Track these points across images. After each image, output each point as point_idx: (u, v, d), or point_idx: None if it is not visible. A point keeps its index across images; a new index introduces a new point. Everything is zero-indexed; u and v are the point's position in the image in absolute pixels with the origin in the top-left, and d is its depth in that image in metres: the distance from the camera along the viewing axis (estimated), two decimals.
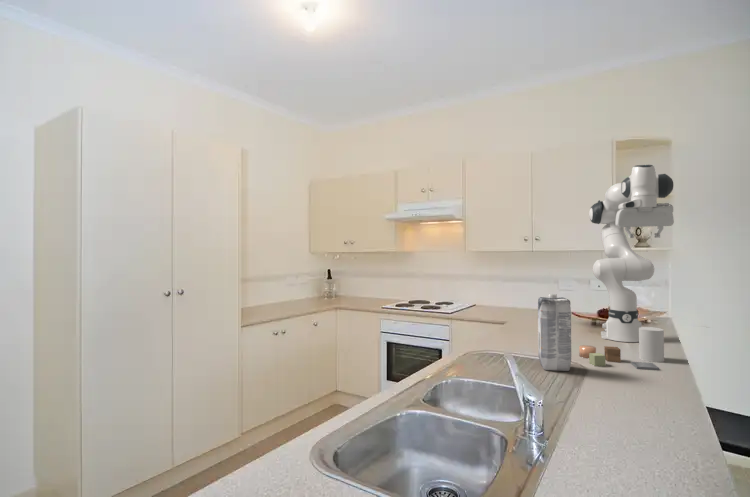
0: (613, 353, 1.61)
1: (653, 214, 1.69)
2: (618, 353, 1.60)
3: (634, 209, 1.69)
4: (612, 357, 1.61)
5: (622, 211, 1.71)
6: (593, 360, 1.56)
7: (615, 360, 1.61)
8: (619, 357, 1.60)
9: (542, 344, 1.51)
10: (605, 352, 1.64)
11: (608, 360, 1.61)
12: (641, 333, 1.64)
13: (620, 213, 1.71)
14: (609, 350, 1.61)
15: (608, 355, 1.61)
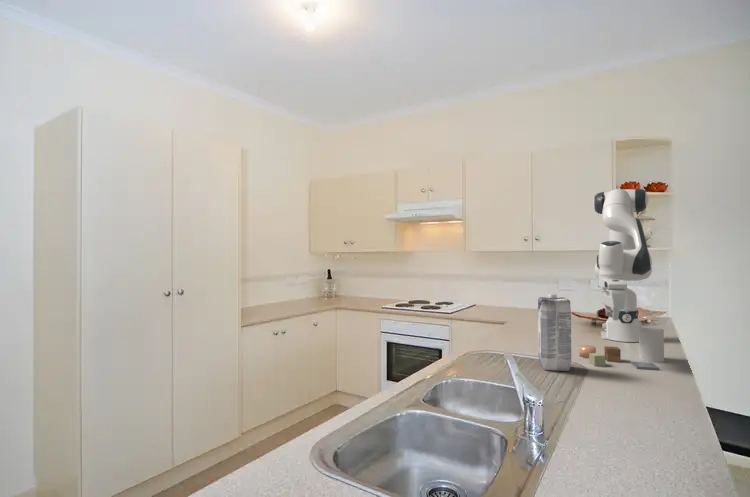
0: (613, 353, 1.61)
1: None
2: (618, 353, 1.60)
3: None
4: (612, 357, 1.61)
5: None
6: (593, 360, 1.56)
7: (615, 360, 1.61)
8: (619, 357, 1.60)
9: (542, 344, 1.51)
10: (605, 352, 1.64)
11: (608, 360, 1.61)
12: (641, 333, 1.64)
13: (625, 294, 1.54)
14: (609, 350, 1.61)
15: (608, 355, 1.61)
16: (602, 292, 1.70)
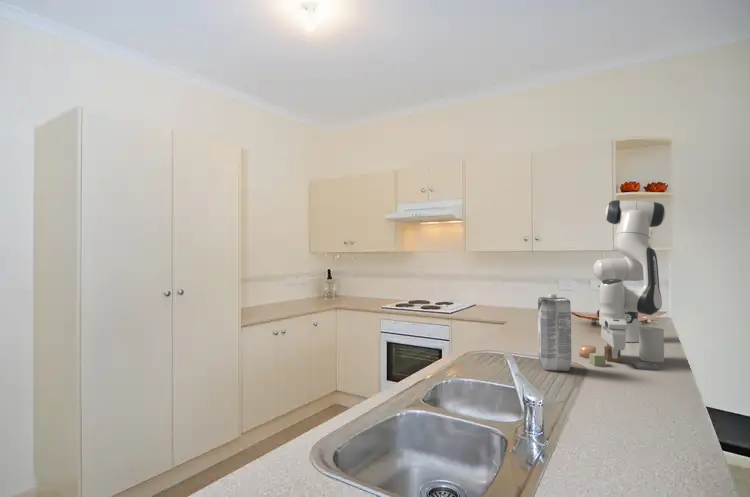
0: None
1: None
2: (618, 353, 1.60)
3: None
4: None
5: None
6: (593, 360, 1.56)
7: (615, 360, 1.61)
8: (619, 357, 1.60)
9: (542, 344, 1.51)
10: (605, 352, 1.64)
11: (608, 360, 1.61)
12: (641, 333, 1.64)
13: (625, 335, 1.54)
14: (609, 350, 1.61)
15: (608, 355, 1.61)
16: (602, 328, 1.70)
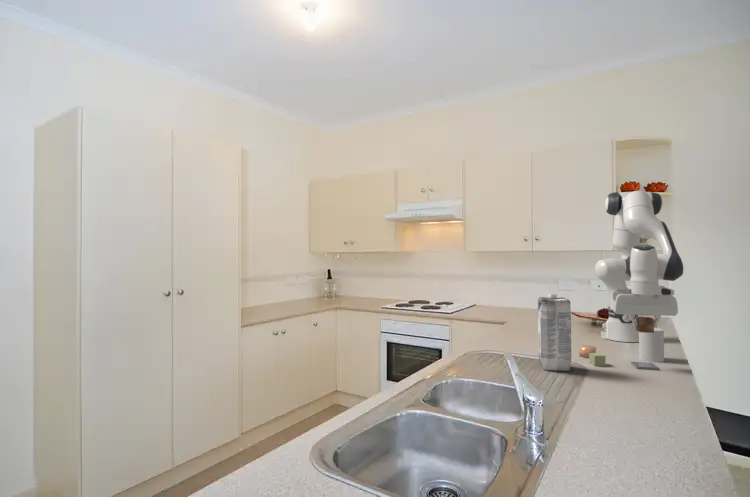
0: None
1: None
2: None
3: None
4: None
5: None
6: (593, 360, 1.56)
7: None
8: None
9: (542, 344, 1.51)
10: (644, 324, 1.52)
11: None
12: (641, 333, 1.64)
13: None
14: None
15: None
16: (623, 301, 1.54)
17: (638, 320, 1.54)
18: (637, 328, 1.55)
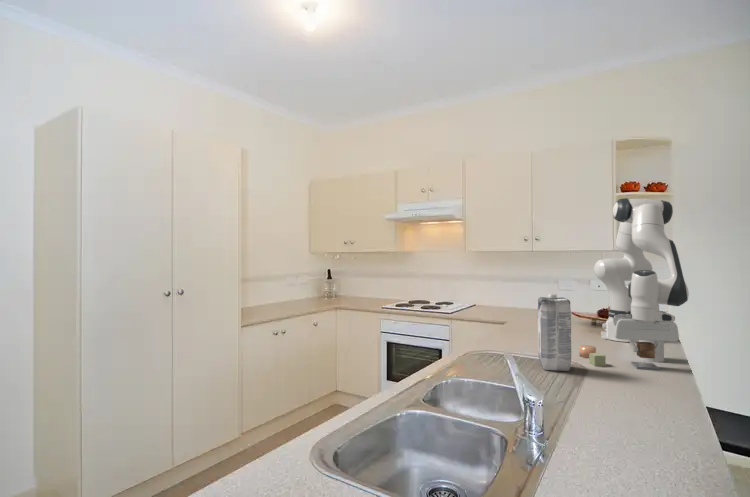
0: None
1: None
2: None
3: None
4: None
5: None
6: (593, 360, 1.56)
7: None
8: None
9: (542, 344, 1.51)
10: (645, 350, 1.52)
11: None
12: None
13: None
14: None
15: None
16: (624, 326, 1.54)
17: (639, 345, 1.53)
18: (638, 353, 1.55)
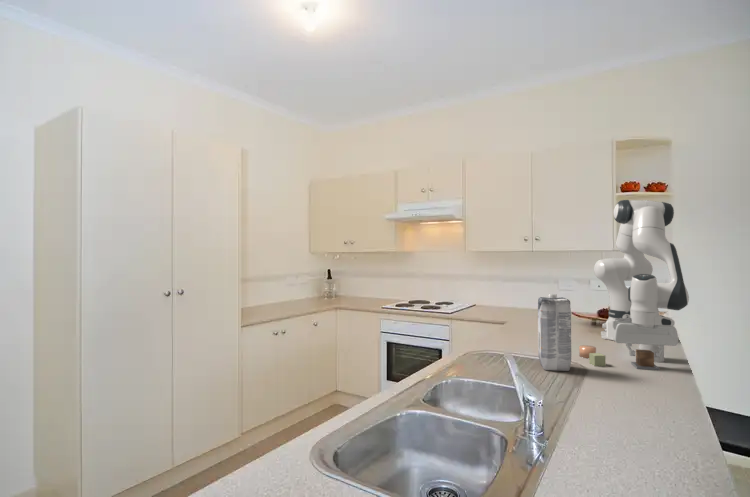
0: None
1: None
2: None
3: None
4: None
5: None
6: (593, 360, 1.56)
7: None
8: None
9: (542, 344, 1.51)
10: (644, 358, 1.52)
11: None
12: None
13: None
14: None
15: None
16: (624, 330, 1.54)
17: (638, 353, 1.54)
18: (637, 361, 1.55)
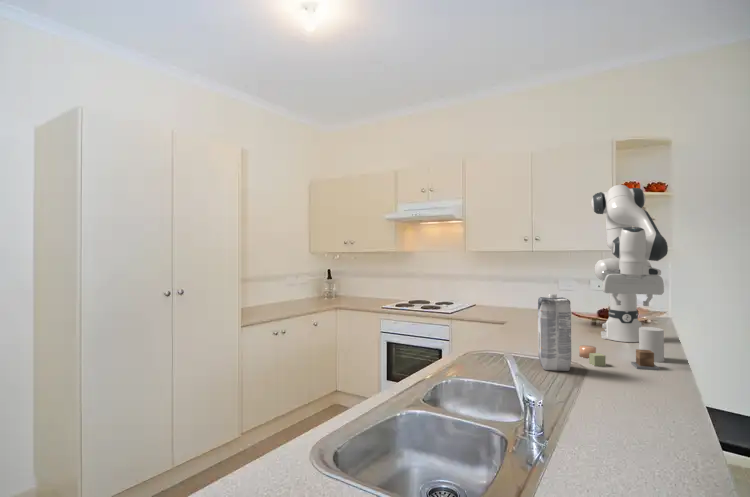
0: None
1: None
2: None
3: None
4: None
5: None
6: (593, 360, 1.56)
7: None
8: None
9: (542, 344, 1.51)
10: (644, 358, 1.52)
11: None
12: (641, 333, 1.64)
13: None
14: None
15: None
16: (612, 281, 1.60)
17: (638, 353, 1.54)
18: (637, 361, 1.55)
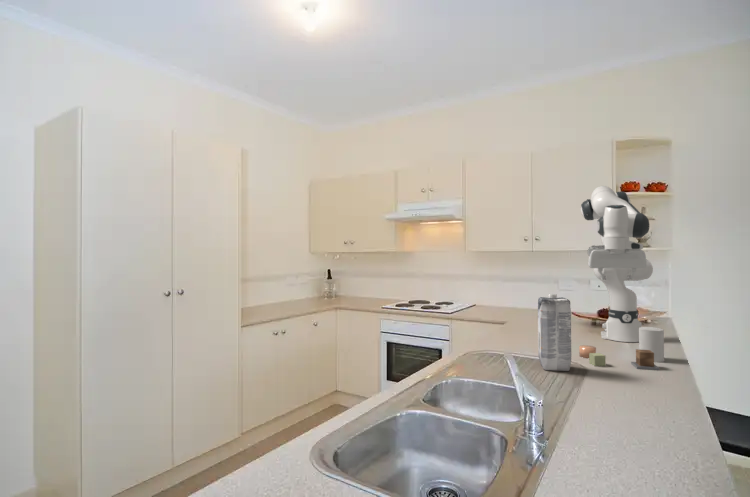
0: None
1: None
2: None
3: None
4: None
5: None
6: (593, 360, 1.56)
7: None
8: None
9: (542, 344, 1.51)
10: (644, 358, 1.52)
11: None
12: (641, 333, 1.64)
13: None
14: None
15: None
16: (597, 256, 1.68)
17: (638, 353, 1.54)
18: (637, 361, 1.55)
